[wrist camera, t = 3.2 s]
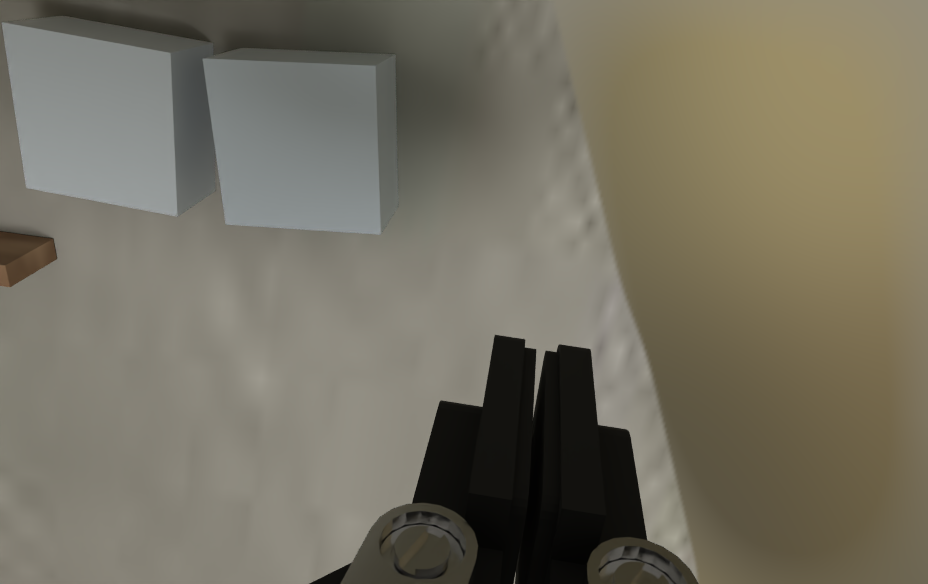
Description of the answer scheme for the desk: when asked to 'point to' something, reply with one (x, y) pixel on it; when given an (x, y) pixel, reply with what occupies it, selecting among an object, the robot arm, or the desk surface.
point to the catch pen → (23, 256)
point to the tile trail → (305, 138)
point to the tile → (112, 113)
